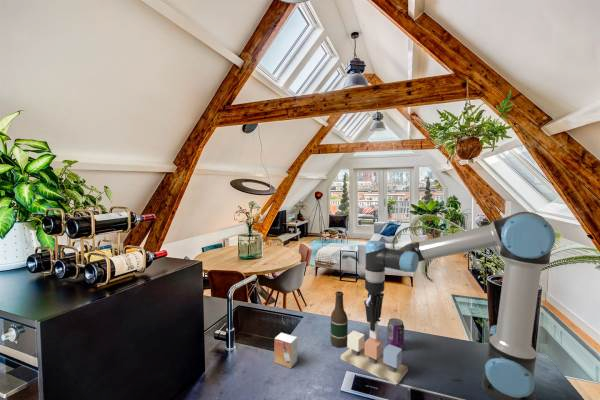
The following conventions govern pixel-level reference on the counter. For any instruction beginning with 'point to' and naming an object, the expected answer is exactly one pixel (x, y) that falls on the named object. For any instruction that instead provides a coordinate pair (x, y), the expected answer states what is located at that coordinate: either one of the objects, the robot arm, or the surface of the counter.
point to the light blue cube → (392, 356)
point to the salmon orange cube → (373, 348)
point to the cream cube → (355, 341)
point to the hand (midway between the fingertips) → (373, 337)
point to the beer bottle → (339, 323)
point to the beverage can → (395, 333)
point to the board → (374, 365)
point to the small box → (285, 350)
